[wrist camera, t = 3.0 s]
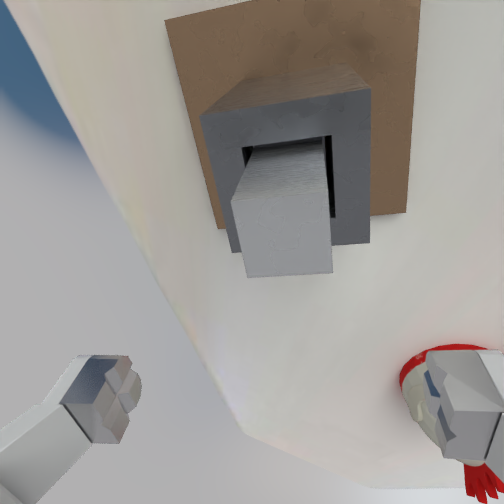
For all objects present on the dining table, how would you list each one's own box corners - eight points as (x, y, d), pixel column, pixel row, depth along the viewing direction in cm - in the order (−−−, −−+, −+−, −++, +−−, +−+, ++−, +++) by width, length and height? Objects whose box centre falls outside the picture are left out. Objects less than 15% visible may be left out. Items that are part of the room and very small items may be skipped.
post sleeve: (417, -36, 26) (525, -95, 13) (402, 206, 36) (453, 305, 23) (170, 20, 30) (66, 17, 17) (220, 222, 40) (179, 314, 28)
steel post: (319, 97, 30) (333, 186, 13) (322, 147, 32) (337, 276, 16) (269, 105, 31) (224, 197, 14) (276, 153, 33) (244, 281, 17)
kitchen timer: (383, 392, 53) (405, 504, 41) (428, 332, 45) (473, 448, 33) (469, 415, 53) (518, 533, 41) (529, 359, 46) (612, 485, 33)
